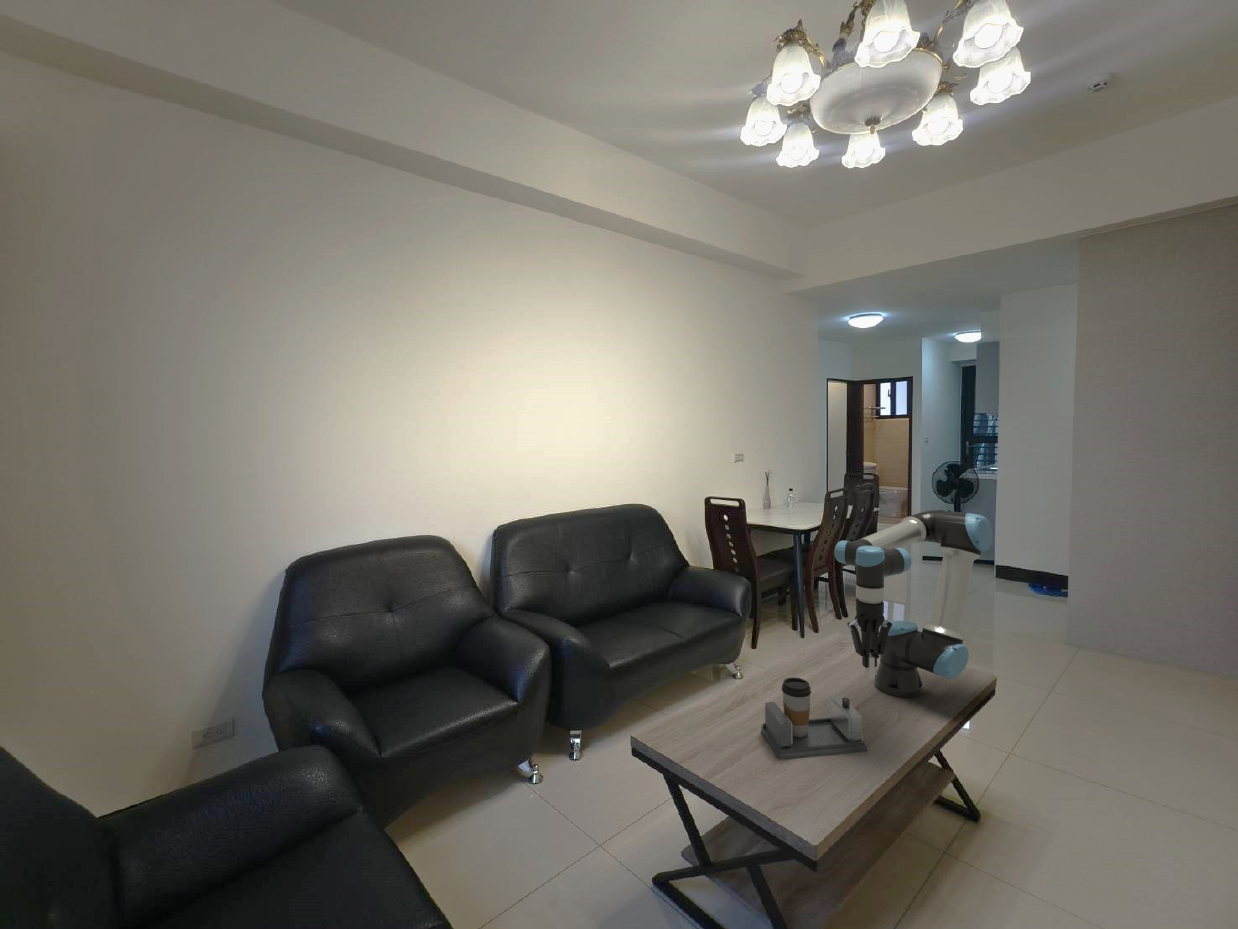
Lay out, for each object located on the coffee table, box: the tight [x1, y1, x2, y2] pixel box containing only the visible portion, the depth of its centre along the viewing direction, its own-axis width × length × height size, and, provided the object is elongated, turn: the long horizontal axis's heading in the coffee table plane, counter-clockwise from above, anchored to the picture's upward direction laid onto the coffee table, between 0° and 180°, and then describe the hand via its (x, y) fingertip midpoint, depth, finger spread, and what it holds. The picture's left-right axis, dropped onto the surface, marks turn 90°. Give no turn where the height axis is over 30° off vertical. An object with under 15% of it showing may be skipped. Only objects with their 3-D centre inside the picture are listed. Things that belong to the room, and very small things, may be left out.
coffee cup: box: [781, 677, 812, 737], centre depth 161 cm, size 8×8×15 cm
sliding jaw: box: [829, 695, 863, 742], centre depth 160 cm, size 4×12×10 cm, turn 6°
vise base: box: [760, 701, 868, 760], centre depth 159 cm, size 26×14×10 cm, turn 96°
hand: (869, 677), depth 160 cm, fingers closed
